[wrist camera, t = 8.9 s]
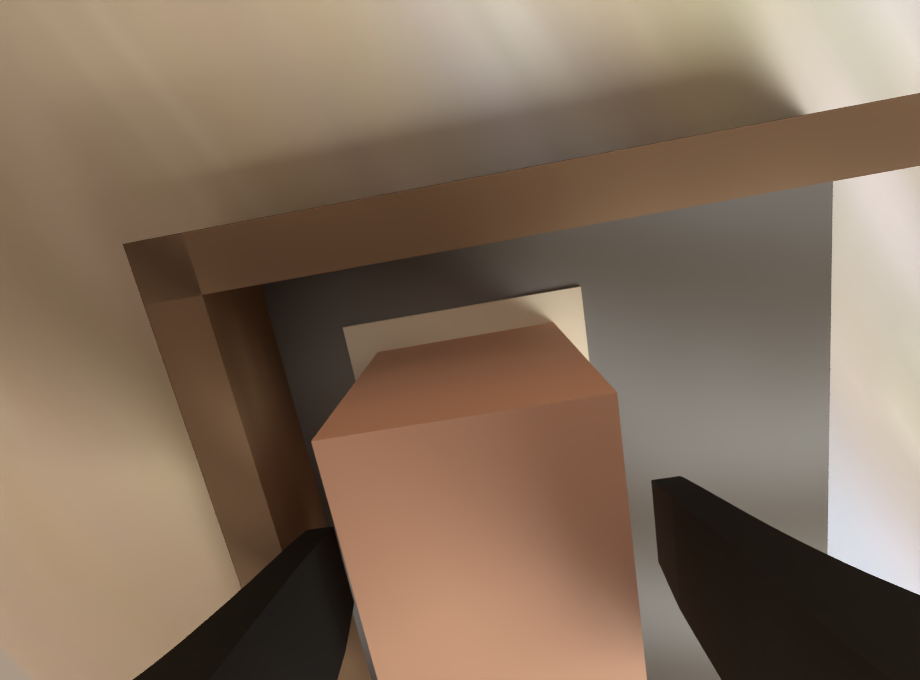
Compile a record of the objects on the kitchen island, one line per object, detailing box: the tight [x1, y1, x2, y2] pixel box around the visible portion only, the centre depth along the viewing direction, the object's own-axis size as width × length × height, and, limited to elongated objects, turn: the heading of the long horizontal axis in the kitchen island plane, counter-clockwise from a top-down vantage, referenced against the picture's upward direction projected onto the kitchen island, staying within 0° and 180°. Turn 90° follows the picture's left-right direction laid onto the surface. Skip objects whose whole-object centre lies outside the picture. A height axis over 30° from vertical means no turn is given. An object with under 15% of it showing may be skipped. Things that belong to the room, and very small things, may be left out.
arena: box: [123, 93, 920, 680], centre depth 12 cm, size 18×15×3 cm
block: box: [311, 322, 647, 680], centre depth 10 cm, size 4×8×5 cm, turn 10°
